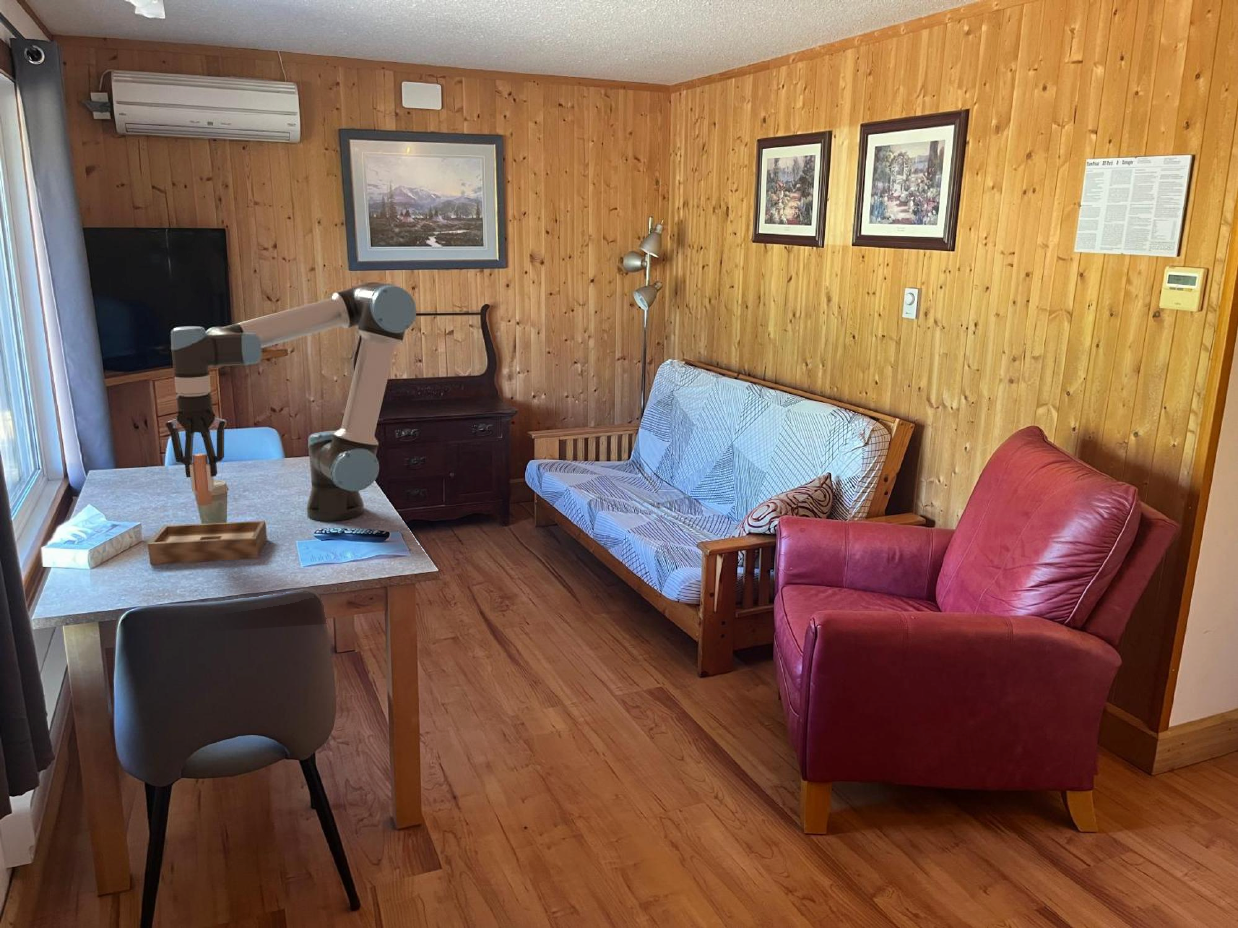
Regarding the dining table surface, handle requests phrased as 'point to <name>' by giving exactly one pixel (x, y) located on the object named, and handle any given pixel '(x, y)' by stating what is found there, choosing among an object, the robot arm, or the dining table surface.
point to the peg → (201, 479)
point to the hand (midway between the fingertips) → (203, 489)
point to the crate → (207, 542)
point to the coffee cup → (215, 505)
